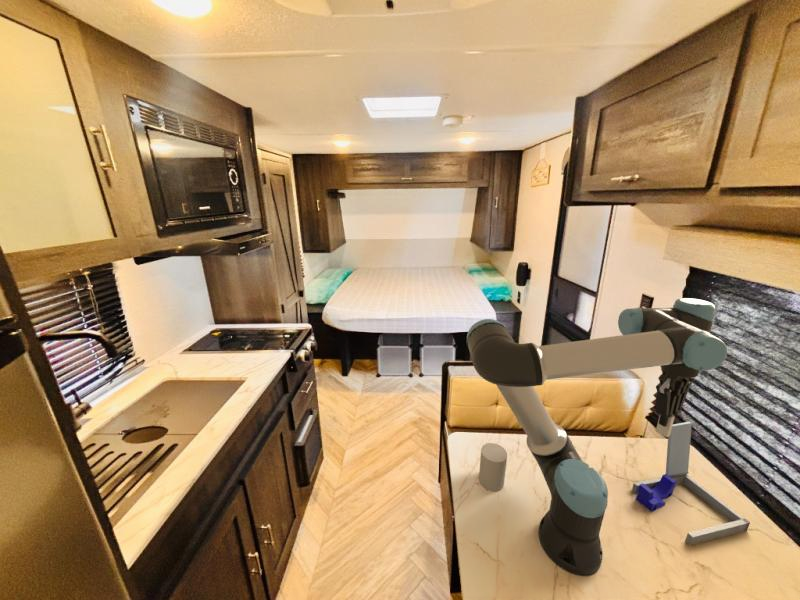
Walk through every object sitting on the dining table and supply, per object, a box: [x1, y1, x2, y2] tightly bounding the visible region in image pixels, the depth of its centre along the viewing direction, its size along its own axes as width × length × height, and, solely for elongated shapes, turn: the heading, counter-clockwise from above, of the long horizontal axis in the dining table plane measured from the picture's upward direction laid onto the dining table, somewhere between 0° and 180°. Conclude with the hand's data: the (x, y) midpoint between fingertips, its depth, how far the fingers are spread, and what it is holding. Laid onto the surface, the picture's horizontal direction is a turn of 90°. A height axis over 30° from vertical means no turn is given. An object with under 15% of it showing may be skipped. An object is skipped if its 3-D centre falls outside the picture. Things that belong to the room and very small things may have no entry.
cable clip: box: [635, 473, 677, 513], centre depth 95 cm, size 12×4×6 cm, turn 109°
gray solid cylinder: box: [478, 442, 508, 493], centre depth 101 cm, size 8×8×12 cm
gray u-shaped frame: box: [631, 474, 751, 546], centre depth 93 cm, size 20×17×3 cm
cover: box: [665, 421, 693, 477], centre depth 100 cm, size 8×18×2 cm
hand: (662, 433), depth 86 cm, fingers closed
